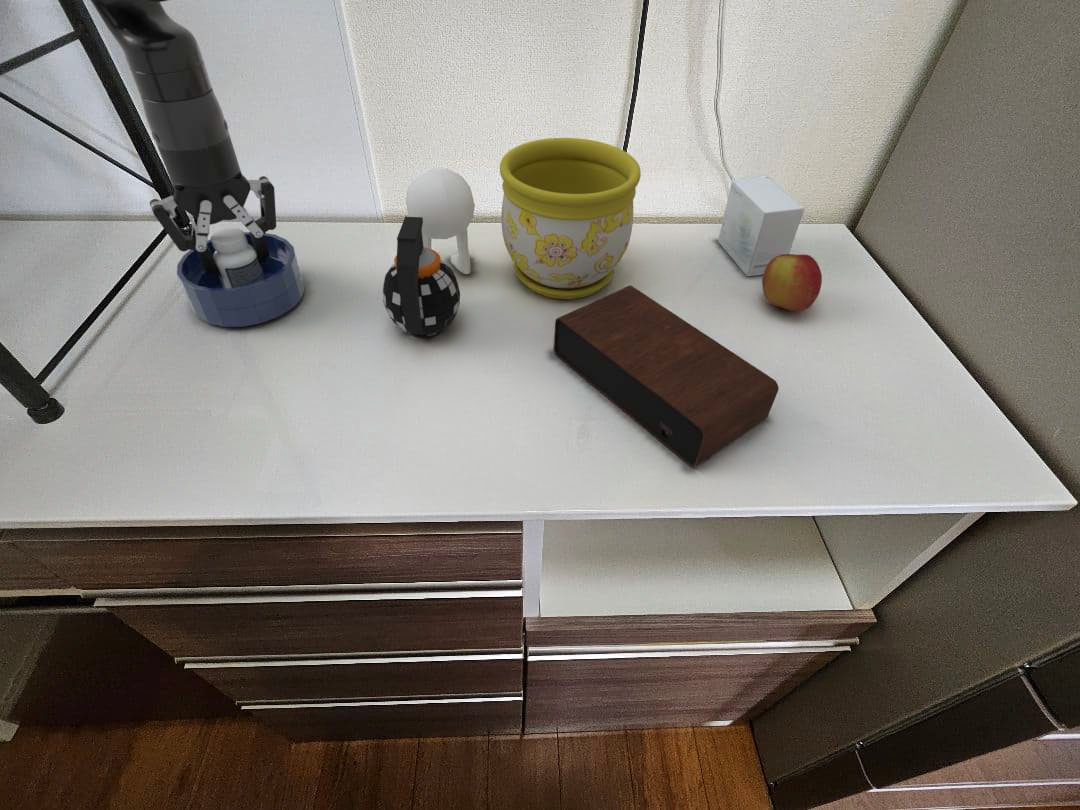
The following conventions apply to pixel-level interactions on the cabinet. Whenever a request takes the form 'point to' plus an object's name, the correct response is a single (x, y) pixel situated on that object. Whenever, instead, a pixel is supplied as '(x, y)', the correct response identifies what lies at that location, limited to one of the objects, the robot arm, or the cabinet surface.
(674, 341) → the alarm clock
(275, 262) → the basin
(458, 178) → the toy character
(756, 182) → the cosmetics box
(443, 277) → the grenade
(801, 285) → the apple
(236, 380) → the cabinet surface
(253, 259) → the pill bottle
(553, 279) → the flowerpot
